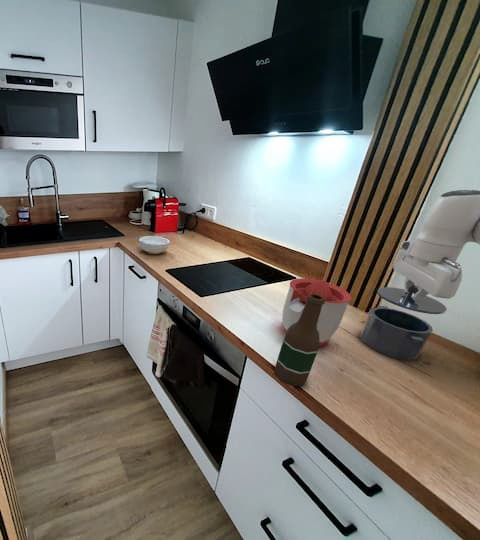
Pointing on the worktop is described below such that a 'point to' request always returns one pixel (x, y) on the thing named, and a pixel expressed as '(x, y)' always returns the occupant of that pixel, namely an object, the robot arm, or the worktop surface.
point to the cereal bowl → (154, 244)
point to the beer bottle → (300, 345)
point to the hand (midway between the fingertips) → (411, 297)
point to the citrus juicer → (330, 310)
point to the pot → (395, 333)
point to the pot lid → (411, 300)
